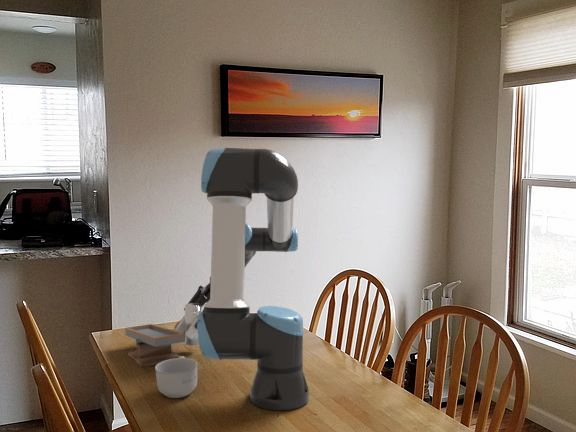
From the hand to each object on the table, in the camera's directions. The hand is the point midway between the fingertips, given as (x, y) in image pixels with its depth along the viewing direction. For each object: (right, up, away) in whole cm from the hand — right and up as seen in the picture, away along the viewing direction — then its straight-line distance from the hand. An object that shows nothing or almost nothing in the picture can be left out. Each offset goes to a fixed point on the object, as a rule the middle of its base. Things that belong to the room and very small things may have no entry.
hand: (183, 334), depth 187 cm
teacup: (+4, -10, -27) cm, 29 cm away
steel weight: (+3, -3, +3) cm, 5 cm away
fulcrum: (-9, -7, -2) cm, 11 cm away
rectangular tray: (-8, -1, -3) cm, 9 cm away
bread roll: (-2, -5, +20) cm, 21 cm away
